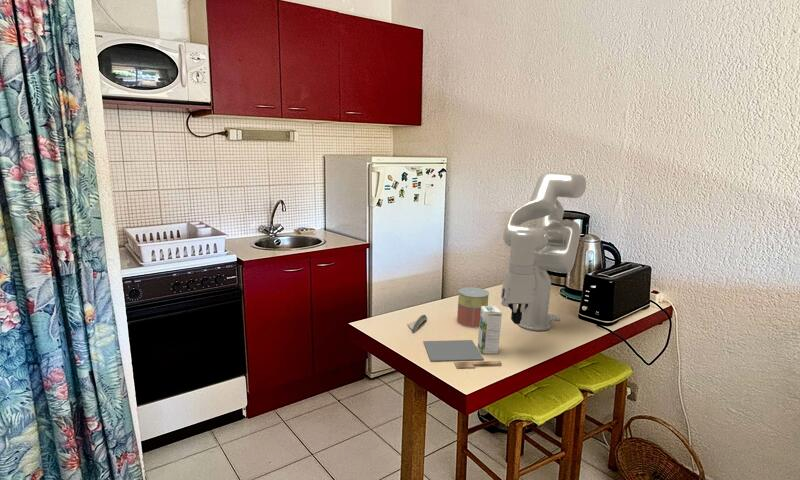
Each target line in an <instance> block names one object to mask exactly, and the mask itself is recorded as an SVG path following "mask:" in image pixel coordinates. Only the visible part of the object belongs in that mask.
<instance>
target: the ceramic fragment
mask: <svg viewBox="0 0 800 480" xmlns="http://www.w3.org/2000/svg"><path fill="white" fill-rule="evenodd" d="M427 320H428V317H427V315H426V314H421V315H420V316H419V317H418V318H417V319H416V320H415V321H412V322H410V323H408V324H407V326H408V328H409V329H410V330H411V331H412V333H413V334H415V333H416V332H417V330H418V328H419V326H420V325H421V324H423V322H425V321H427Z"/></svg>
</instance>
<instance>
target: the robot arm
mask: <svg viewBox="0 0 800 480" xmlns="http://www.w3.org/2000/svg"><path fill="white" fill-rule="evenodd" d="M586 188H587V181H586V177H585V176H584V175H583V174H577V173H566V172H565V173H564V172H563V173H562V172H545V173H543V174H541V175H540V176H539V177H538V178H537V182H536V184H535V186H534V190H533V191H532V195H531V197H530V200H529V202H527V203H525V204H523V205H521V206H519V208H517V209H516V210H515V211H513V212H512V213H511V214H510V216H509V218H508V220H507V223H506V226H505V228H504V232H503V242H504V244H505V245H506V246H508V247H510V248H509V251H510V252H509V260H508V261H509V262H508V270H505V273H504V276H503V281H502V285H501V292H500V293H501V294H500V297H501V299H502V300H501V302H500V304H501V305H502V306H503V307H507V308H509V309H510V310H511V313H510V315H511V316H510V320H511V321H512V323H513V324H514V325H518V326H519V327H521V328H523V329H525V330H529V331H535V332H541V331H542V332H543V331H548V330H550V329H551V327H552V323H551V322H560V321H561V317H560V315H554V313H549V306H550V298H551V297H550V296H551V287H552V281H551V277H550V275H549V273H548V271H550V272H555V273H561V274H568V273H570V272H571V271H572V269H573V268H574V264H575V261H576V256H577V251H578V249H579V248H578V247H579V244H580V243H579V242H580V239H581V227H580V224H579V223H578V222H577V221H575V220H574V221H573V220H567V219H563V218H564V214H565V209H564V207H563V205H562V204H561V202H560V201H559V200H558V198H567V199H577V198H581V197H582V196H583V195H584V194H585V191H586V190H587V189H586ZM534 220H537V222H536V225H535V227H533V226H530V225H529V226H528V225H522V224H524V223H527V222H530V221H534Z"/></svg>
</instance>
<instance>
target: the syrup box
mask: <svg viewBox="0 0 800 480" xmlns="http://www.w3.org/2000/svg"><path fill="white" fill-rule="evenodd" d="M502 315H503V313H502V311H501V309H499V307H498V306H495V305H494V306H493V305H488V306H481V314H480V324H479V327H478V337H477V349H478V350H479V352H480V354H481V355H484V354H485V355H488V354H489V355H490V354H491V355H492V354H493V355H494V354H499V350H500V349H499V348H500V338H501V328H502V327H501V326H502V317H503V316H502Z"/></svg>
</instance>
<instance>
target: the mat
mask: <svg viewBox="0 0 800 480" xmlns="http://www.w3.org/2000/svg"><path fill="white" fill-rule="evenodd" d="M423 344H424V347H425V351H426V353H427V356H428V359H429V362H430V363H431V362H432V363H433V362H436V363H437V362H478V361H485V359H484V357H483V356H482V355H483V354H482V353H481V352H480V350H479V348H478V346H477V345H476V343H474V340H473V339H464V340H463V339H462V340H461V339H460V340H459V339H456V340H454V339H453V340H452V339H451V340H423Z"/></svg>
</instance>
